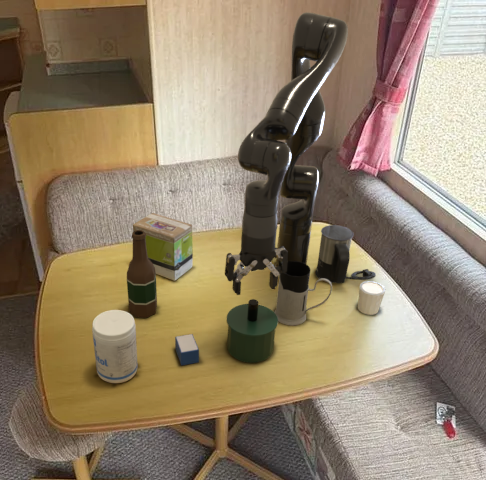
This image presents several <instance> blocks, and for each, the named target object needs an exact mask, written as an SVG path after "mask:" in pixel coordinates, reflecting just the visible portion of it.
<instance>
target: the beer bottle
mask: <svg viewBox="0 0 486 480" xmlns="http://www.w3.org/2000/svg"><path fill="white" fill-rule="evenodd" d="M130 237H131V239H132V258H131V260H130V262H129V265H128V268H127V271H126V288H127V301H128V310H129V313H130V314H131V315H132V316H133V317H135V318H140V319H141V318H142V319H143V318H145V319H148V318H149V317H151V316H154V315H155V314H156V312H157V307H158V294H157V274H156V272H155V267H154V265H153V263H152V262H151V261H150V260H149V259H148V255H147V248H146V240H145V238H146V233H145V232H144V231H142V230H136V231H134V232H133V231H132V233H131V236H130Z"/></svg>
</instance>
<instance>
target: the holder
mask: <svg viewBox="0 0 486 480" xmlns="http://www.w3.org/2000/svg"><path fill="white" fill-rule="evenodd" d="M310 275H311V267H310V266H309V265H308V264H307V265H306V264H305V263H302V262H299V261H289V262H287V272H286V273H281V274H279V276H278V285H277V296H276V304H275V309H274V310H273V312H274V313H275V314H276V316H277V318H278V323H280V324H283V325H286V326H299V325H302V324H303V323H305V322H306V320H307V312H308V311H310V310H313V309H316V308H318V307H320V306H322V305H324V304H325V303H326V302H327V301H328V300H329V298H330V297H331V295H332V290H333V283H331V282H330V281H329V280H327V279H324V278H321V279H319V278H317V280H316V281H315V282H314V286H313V288H310V285H309V284H310V277H311V276H310ZM322 280H324V281H326V282H325V283H328V284H329V286H330V290H329V293H328V295H327V296H326V298H325V299H324V300H323V301H321V302H320V303H318V304H315V305H313V306H309V308H307V303H308V295H309V292H314V291H315V290H316V288H317V284H319V282H321V281H322ZM324 281H323V282H324Z"/></svg>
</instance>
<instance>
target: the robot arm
mask: <svg viewBox="0 0 486 480" xmlns="http://www.w3.org/2000/svg"><path fill="white" fill-rule="evenodd" d="M348 34H349V27H348V24H347V22H346V21H345V20H343V19H341V18H338V17H333V16H328V15H324V14H320V13H316V12H315V13H314V12H309V11H308V12H307V11H306V12H303V13H301V14H300V15H299V17H298V18H297V19H296V22H295V25H294V28H293V34H292V40H291V41H292V42H291V66H290V67H291V68H290V69H291V71H290V81H289V82H288V83H286V84H285V85H284V86H282V87H281V88H280V89H279V90H278V92H277V93H276V94H275V96H274V98H273V100H272V101H271V104H270V106H269V108H268V109H267V112H266V114H265V116H264V117H263V118H262V119H261V120H260V121H259V122H258V124H256V126H255V127H254V128H253V129H251V131H249V133H248V134H247V135H246V136H245V138H244V139H243V140H242V142H241V144H240V146H239V148H238V152H237V161H238V164H239V166H240V167H241V169H243V170H245V171H248V172H251V173H255V174H260V175H263V176H267V179H259V180H253V181H250V182H249V183H248V184H247V185H246V187H245V189H244V190H245V191H244V203H243V204H244V206H243V215H242V222H241V239H240V252H238V254H232V252H228V253H227V254H226V256H225V257H226V258H225V266H224V276H225V277H226V279H227V281H228V282H232V288H231V289H232V291H233V293H234V294H236V296H240V295H241V291H242V290H241V289H242V281H241V280H242V279H244V277H247V275H248V274H249V273H250V272H256V271H265V269H266V268H267V269H268V270H269V271H270V272H269V279H268V286H269V289H270V290H271V291H273V290H276V288H278V285H279V276H280V274H281V273H286V272H287V262H289V261H299V262H302V263H305V264H306V265H308V258H309V249H310V242H311V235H312V227H313V226H312V225H313V219H314V211H315V204H316V199H317V194H318V189H319V182H320V171H319V169H318V167H316V166H313V165H301V164H300V165H299V164H297V162H298V160H299V159H300V157H302V155H303V154H305V153H306V151H308V150H309V149H310V148H311V147H312V146H313V145H314V144H315V143H316V142H317V140H318V139H319V138H320V137H321V134H322V132H323V128H324V122H325V116H326V105H325V101H324V98H323V96H322V94H321V91H320V89H321V87H322V86H323V84H324V83H325V82H326V80H327V78H328V77H329V76H330V74H331V73H332V71H333V69H334V68H335V66H337V63H338V62H339V60H340V58H341V56H342V54H343V52H344V49H345V47H346V45H347V40H348ZM311 61H312V62H315V63H313V65H312V66H311ZM279 197H281V198H284V199H289V200H290V199H292V200H298V201H295V202H291V203H288V204H286V205H284V206H283V207H282V208H281V209H280V216H279V227H278V206H279ZM277 230H278V236H277ZM276 241H277V246H276ZM274 259H275V264H273V263H272V261H273V260H274ZM238 261H240V262H239V263H238ZM235 267H236V269H235Z"/></svg>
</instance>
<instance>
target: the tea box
mask: <svg viewBox="0 0 486 480" xmlns="http://www.w3.org/2000/svg"><path fill="white" fill-rule="evenodd" d="M136 230H142V231H144V232H145V233H146V238H145V240H146V248H147V255H148V259H149V260H150V261H151V262H152V263H153V265H154V267H155V272H156V275H158V276H161V277H163V278H166V279H169V280H172V281H177V280H178V279H180V277H182V276H183V275H185V274H186V273H187V272H188V271H190V270H191V269H192V268H193V265H194V263H193V259H194V256H193V255H194V254H193V253H194V252H193V251H194V250H193V248H194V247H193V224H191V223H188V222H184V221H181V220H177V219H174V218H171V217H168V216H164V215H161V214H158V213H155V212H152V213H150V214H148V215H147V216H145V217H143V218H141V219H139V220H138V221H136V222H135V223H133V224H132V233H133V232H134V231H136Z"/></svg>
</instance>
